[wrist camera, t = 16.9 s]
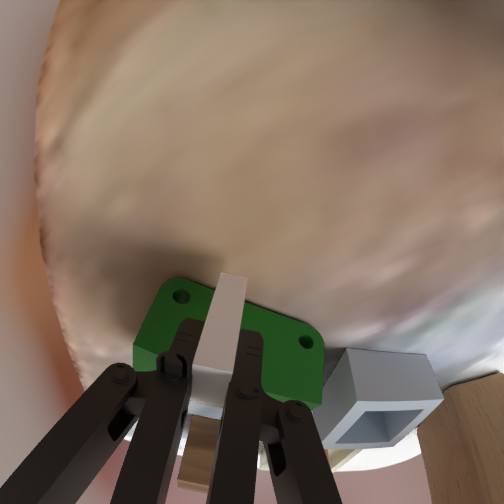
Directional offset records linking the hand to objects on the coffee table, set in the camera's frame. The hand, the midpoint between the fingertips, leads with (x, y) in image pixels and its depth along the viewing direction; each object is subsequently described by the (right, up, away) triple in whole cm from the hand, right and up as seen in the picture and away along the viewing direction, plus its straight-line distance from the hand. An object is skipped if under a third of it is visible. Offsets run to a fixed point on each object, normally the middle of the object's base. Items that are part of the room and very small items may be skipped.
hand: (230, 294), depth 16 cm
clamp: (0, -4, +5) cm, 6 cm away
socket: (+11, -9, +6) cm, 16 cm away
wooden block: (+26, -16, +8) cm, 32 cm away
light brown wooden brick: (-3, -17, +11) cm, 21 cm away
